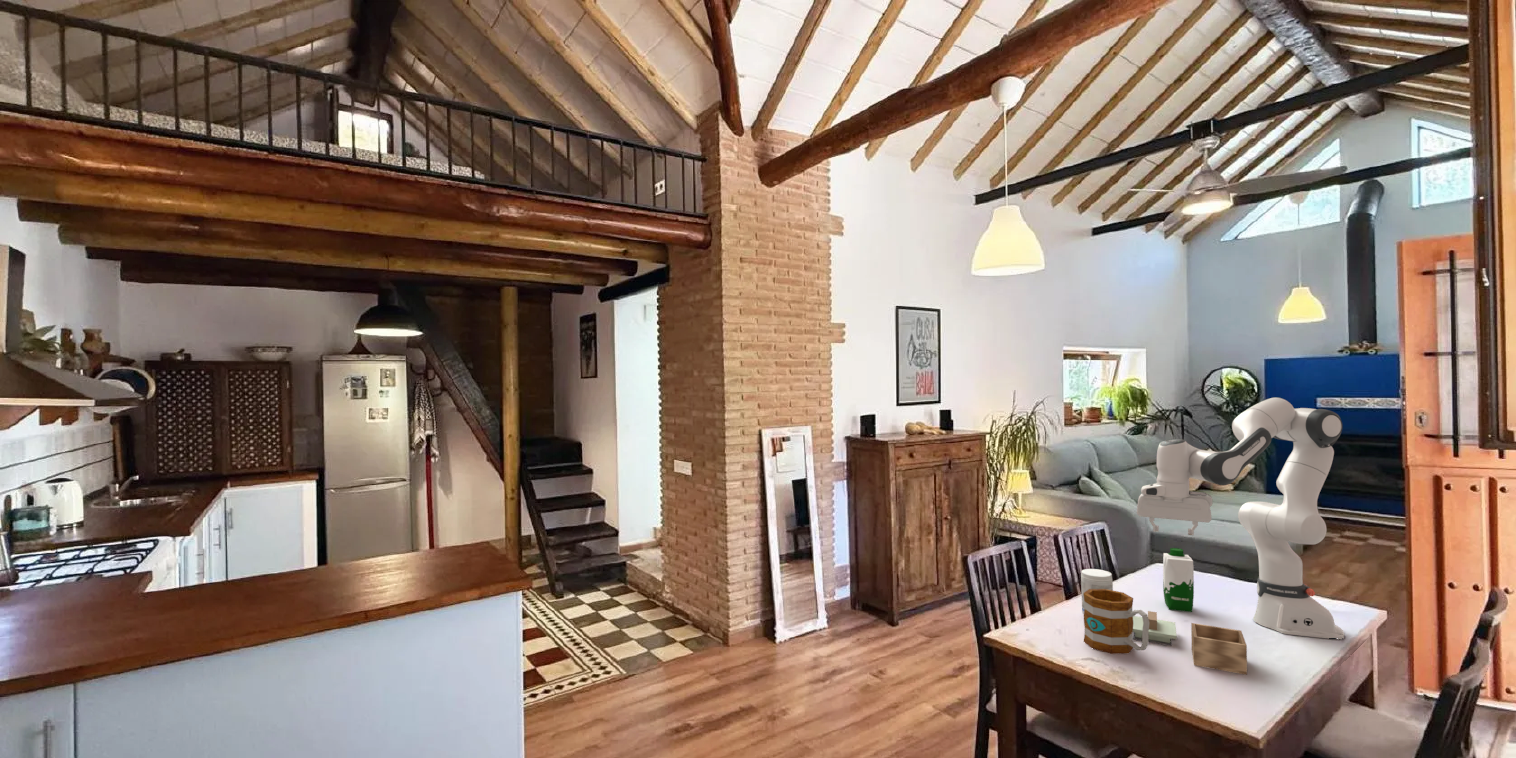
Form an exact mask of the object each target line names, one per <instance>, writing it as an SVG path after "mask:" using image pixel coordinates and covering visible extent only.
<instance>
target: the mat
mask: <svg viewBox="0 0 1516 758" xmlns="http://www.w3.org/2000/svg"><path fill="white" fill-rule="evenodd" d="M1132 638H1133V640H1135V641H1141V642H1142V638H1138V637H1135V632H1133V637H1132ZM1148 643H1151V644H1156V645H1157V644H1158V645H1164V646H1168V647H1172V646H1173V644H1172V638H1170V643H1167V642H1162V641H1156V640H1150V639H1148Z"/></svg>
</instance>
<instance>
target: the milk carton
mask: <svg viewBox="0 0 1516 758" xmlns="http://www.w3.org/2000/svg"><path fill="white" fill-rule="evenodd" d="M1162 557H1163V559H1162V560H1163V562H1162V563H1163V564H1162V565H1163V566H1162V568H1163V569H1162V577H1163V578H1162V582H1163V584H1162V588H1163V589H1162V590H1163V598H1164V599H1163V600H1164V603H1165V606H1166V607H1167V609H1168V610H1170V611H1178V612H1186V613H1188V612H1189V613H1193V609H1194V598H1195V597H1194V596H1195V595H1194V593H1195V591H1194V589H1195V588H1194V586H1195V584H1194V583H1195V581H1194V580H1195V579H1194V573H1195V572H1194V569H1195V568H1194V560H1193V559H1192V557H1190V556H1189V554H1184V550H1183V549H1182V548H1179V547H1171V548H1169V552H1168V553H1167V552H1163V556H1162Z"/></svg>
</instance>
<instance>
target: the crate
mask: <svg viewBox="0 0 1516 758" xmlns="http://www.w3.org/2000/svg"><path fill="white" fill-rule="evenodd" d="M1190 623H1191V625H1190V626H1191V627H1190V628H1191V629H1190V630H1191V632H1190V633H1191V656H1192V660H1193V661H1192V662H1193V665H1194V666H1197V667H1200V668H1201V667H1203V668H1207V669H1213V670H1216V671H1217V670H1218V671H1223V672H1230V673H1235V674H1240V675H1245V676H1247V675H1248V653H1247V652H1248V646H1247V643H1246V640H1245V637H1244V634H1243V631H1242V630H1239V629H1232V628H1227V627H1226V628H1225V627H1220V626H1214V625H1207V624H1201V623H1194V622H1190Z"/></svg>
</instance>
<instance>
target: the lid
mask: <svg viewBox="0 0 1516 758" xmlns="http://www.w3.org/2000/svg"><path fill="white" fill-rule="evenodd" d="M1157 612H1158V611H1157ZM1157 612H1155V611H1151V610H1148V611H1147V616H1148V619H1149V638H1148V639H1150V640H1156V641H1162V642H1167V643H1170V638H1171V640H1177V639H1178V637H1177V626H1176V622H1174V621H1169V620H1162V619H1158V613H1157ZM1142 630H1143V618H1142V616H1138V615H1135V616H1133V632H1132V633H1134V632H1135V637H1138V638H1142Z"/></svg>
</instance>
